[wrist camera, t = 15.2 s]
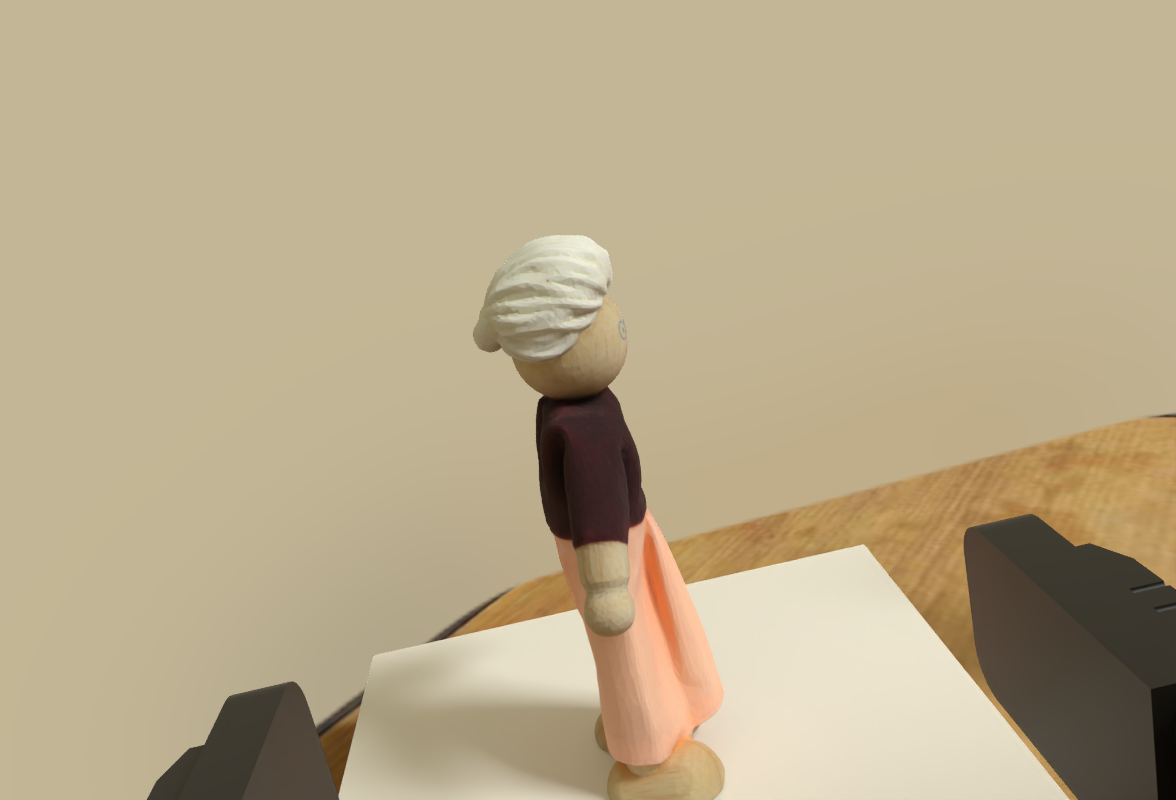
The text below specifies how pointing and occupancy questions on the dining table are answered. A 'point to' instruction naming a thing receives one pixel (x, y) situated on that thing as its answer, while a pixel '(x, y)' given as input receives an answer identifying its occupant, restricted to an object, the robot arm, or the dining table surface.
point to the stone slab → (738, 729)
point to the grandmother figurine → (607, 520)
